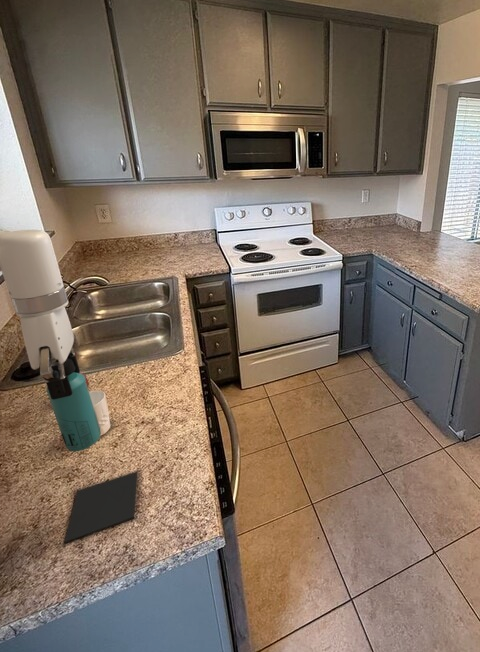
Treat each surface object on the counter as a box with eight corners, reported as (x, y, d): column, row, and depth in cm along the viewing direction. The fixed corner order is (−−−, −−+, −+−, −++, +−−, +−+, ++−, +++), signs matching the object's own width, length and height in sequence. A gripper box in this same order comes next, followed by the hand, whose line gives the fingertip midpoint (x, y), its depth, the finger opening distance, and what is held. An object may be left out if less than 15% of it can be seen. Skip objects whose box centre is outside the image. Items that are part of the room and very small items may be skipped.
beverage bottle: (108, 432, 77) (86, 351, 71) (95, 456, 71) (70, 370, 65) (75, 436, 76) (50, 355, 70) (59, 461, 70) (30, 375, 64)
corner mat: (65, 543, 69) (64, 542, 69) (77, 492, 79) (77, 490, 79) (134, 518, 73) (133, 516, 73) (137, 472, 84) (137, 471, 84)
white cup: (76, 445, 92) (66, 413, 89) (82, 425, 99) (73, 395, 96) (111, 435, 95) (103, 404, 92) (114, 416, 102) (106, 387, 99)
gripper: (30, 288, 69) (54, 367, 75) (-6, 325, 54) (29, 420, 60) (75, 281, 72) (96, 358, 78) (54, 315, 57) (81, 407, 63)
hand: (66, 384), depth 69 cm, fingers closed on beverage bottle, 6 cm apart
